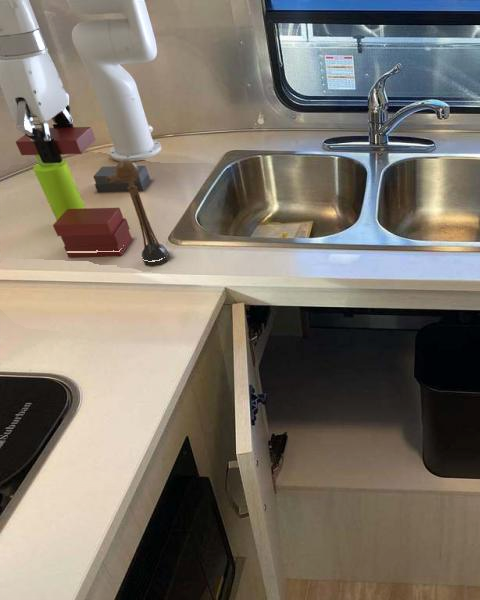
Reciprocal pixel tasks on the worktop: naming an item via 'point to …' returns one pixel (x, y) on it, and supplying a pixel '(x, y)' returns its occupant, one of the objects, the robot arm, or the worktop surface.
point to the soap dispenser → (58, 186)
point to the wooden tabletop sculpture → (140, 214)
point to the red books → (93, 231)
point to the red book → (61, 140)
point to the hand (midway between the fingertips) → (61, 153)
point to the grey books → (117, 185)
